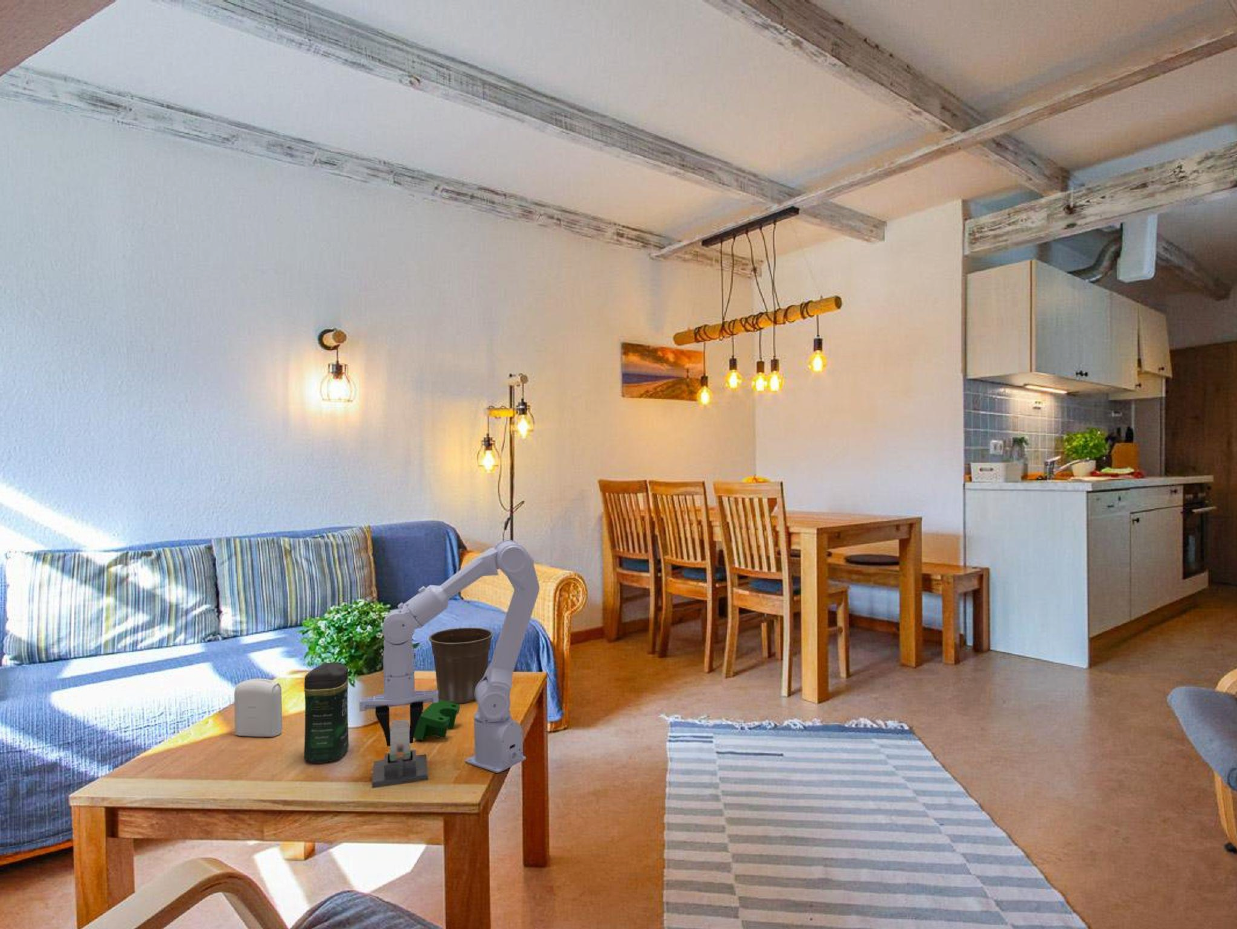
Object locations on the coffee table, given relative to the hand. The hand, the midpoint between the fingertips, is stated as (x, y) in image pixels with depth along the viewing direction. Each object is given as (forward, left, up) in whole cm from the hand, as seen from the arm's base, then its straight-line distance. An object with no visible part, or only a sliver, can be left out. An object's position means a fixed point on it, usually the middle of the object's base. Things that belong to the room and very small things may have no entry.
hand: (400, 743), depth 135 cm
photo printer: (+44, +5, -6) cm, 45 cm away
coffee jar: (+20, +3, -6) cm, 21 cm away
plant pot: (+25, -38, -6) cm, 46 cm away
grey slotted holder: (0, 0, -6) cm, 6 cm away
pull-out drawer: (0, 0, -3) cm, 3 cm away
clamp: (+10, -18, -6) cm, 21 cm away
